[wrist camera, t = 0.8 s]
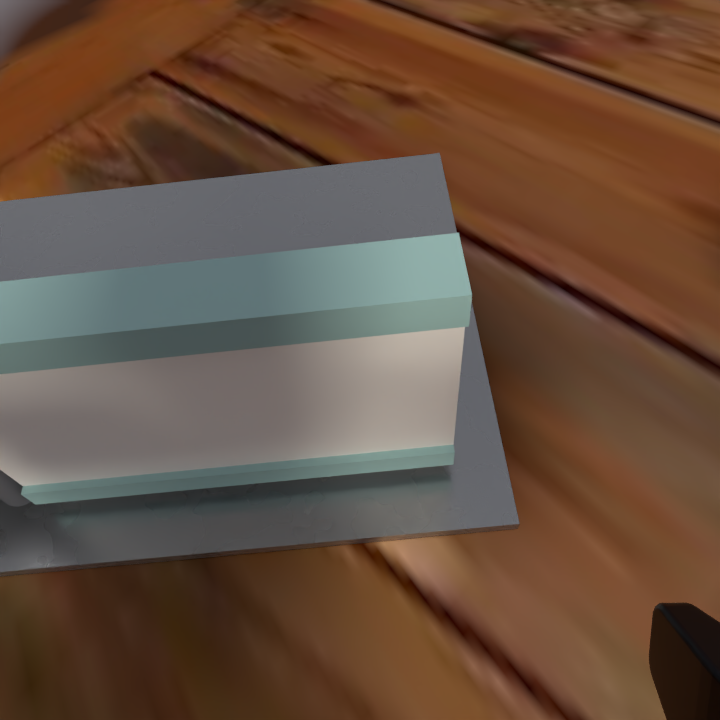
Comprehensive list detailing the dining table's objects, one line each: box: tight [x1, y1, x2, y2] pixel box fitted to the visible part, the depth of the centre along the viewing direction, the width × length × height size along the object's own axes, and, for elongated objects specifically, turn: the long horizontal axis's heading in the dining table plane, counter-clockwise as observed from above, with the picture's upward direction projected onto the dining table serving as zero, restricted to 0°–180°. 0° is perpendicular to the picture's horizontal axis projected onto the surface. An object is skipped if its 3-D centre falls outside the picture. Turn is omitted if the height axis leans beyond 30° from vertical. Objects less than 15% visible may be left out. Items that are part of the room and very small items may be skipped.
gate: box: [0, 233, 472, 507], centre depth 19 cm, size 17×2×10 cm, turn 94°
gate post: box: [0, 153, 519, 577], centre depth 23 cm, size 24×20×12 cm
